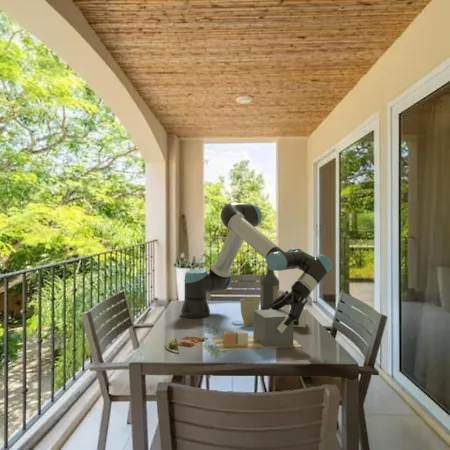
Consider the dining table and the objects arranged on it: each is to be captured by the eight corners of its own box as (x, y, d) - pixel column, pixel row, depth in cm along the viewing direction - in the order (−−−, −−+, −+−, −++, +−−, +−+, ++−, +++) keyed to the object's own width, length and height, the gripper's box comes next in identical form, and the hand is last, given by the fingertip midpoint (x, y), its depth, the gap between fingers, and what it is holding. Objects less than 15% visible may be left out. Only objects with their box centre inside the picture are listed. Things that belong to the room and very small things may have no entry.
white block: (235, 341, 149) (235, 330, 149) (244, 340, 150) (244, 330, 150) (237, 344, 146) (238, 333, 145) (247, 343, 147) (248, 333, 147)
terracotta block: (223, 341, 149) (223, 331, 148) (233, 341, 149) (233, 331, 149) (225, 344, 145) (225, 334, 145) (235, 344, 145) (235, 333, 145)
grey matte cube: (253, 337, 154) (253, 310, 154) (280, 335, 157) (280, 309, 157) (264, 347, 143) (264, 317, 143) (293, 344, 146) (293, 315, 146)
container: (305, 327, 176) (306, 299, 176) (288, 326, 178) (289, 298, 178) (305, 323, 184) (305, 296, 184) (289, 322, 185) (289, 295, 185)
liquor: (259, 311, 208) (260, 256, 208) (263, 307, 216) (264, 255, 216) (276, 312, 204) (276, 257, 204) (279, 309, 213) (280, 256, 213)
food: (218, 352, 142) (218, 344, 142) (172, 358, 136) (172, 350, 136) (203, 337, 159) (203, 330, 159) (162, 342, 153) (162, 335, 153)
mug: (264, 324, 180) (264, 299, 180) (250, 328, 173) (251, 302, 173) (246, 320, 188) (246, 296, 188) (233, 324, 180) (233, 298, 180)
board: (212, 341, 154) (212, 337, 154) (287, 337, 160) (287, 334, 160) (219, 354, 138) (219, 350, 138) (301, 350, 144) (301, 346, 144)
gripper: (327, 298, 144) (292, 341, 139) (293, 287, 167) (262, 324, 162) (316, 285, 142) (280, 328, 137) (283, 276, 166) (251, 312, 160)
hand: (270, 326), depth 150 cm, fingers open, 13 cm apart
